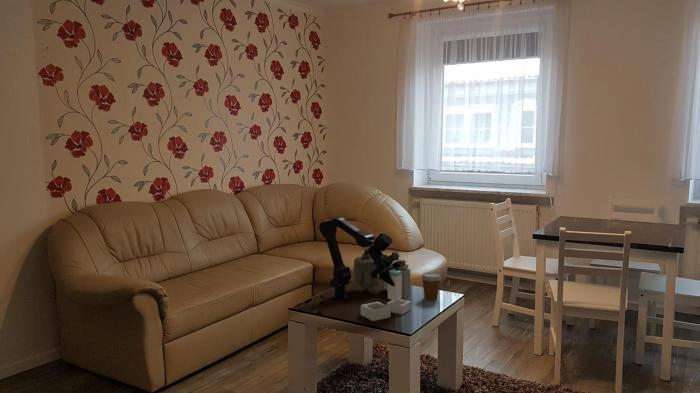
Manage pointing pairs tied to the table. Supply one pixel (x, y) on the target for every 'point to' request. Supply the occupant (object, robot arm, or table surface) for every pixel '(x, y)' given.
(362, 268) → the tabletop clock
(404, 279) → the perfume bottle
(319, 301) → the table surface
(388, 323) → the table surface
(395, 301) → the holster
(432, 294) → the disposable coffee cup
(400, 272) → the plug
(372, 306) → the socket block
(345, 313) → the table surface
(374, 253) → the robot arm
